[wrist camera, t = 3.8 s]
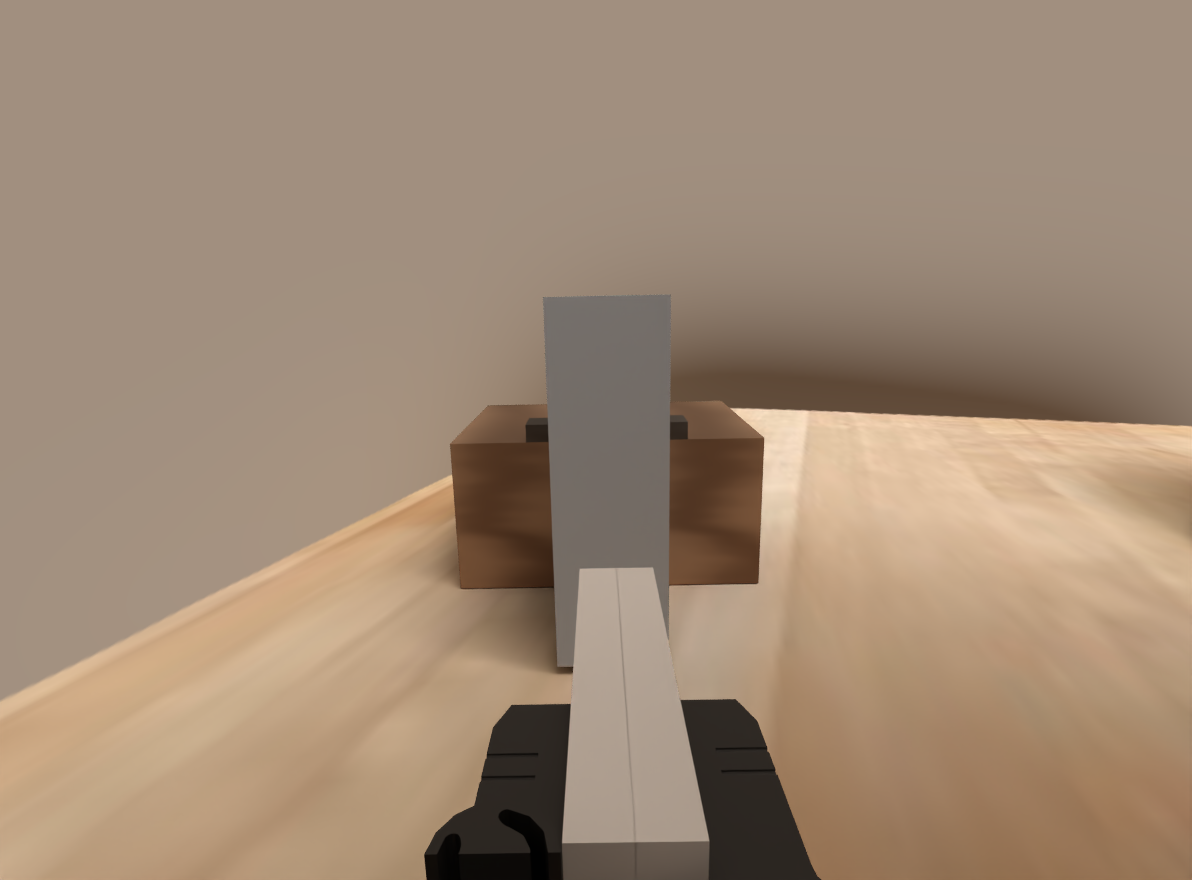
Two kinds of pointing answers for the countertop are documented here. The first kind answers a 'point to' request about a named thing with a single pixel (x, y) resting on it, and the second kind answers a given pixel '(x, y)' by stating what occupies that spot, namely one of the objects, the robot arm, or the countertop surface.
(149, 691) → the countertop surface
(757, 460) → the socket block
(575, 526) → the peg
